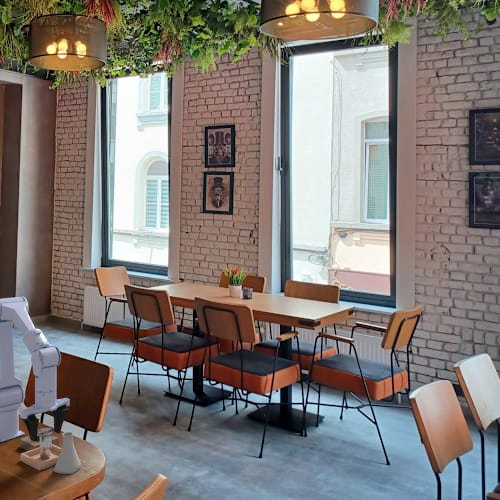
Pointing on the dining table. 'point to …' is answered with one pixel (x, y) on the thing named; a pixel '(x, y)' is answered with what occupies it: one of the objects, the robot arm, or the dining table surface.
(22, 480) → the dining table surface
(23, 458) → the tray
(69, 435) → the flask
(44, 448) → the pin
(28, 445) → the brown square frame
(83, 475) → the dining table surface
